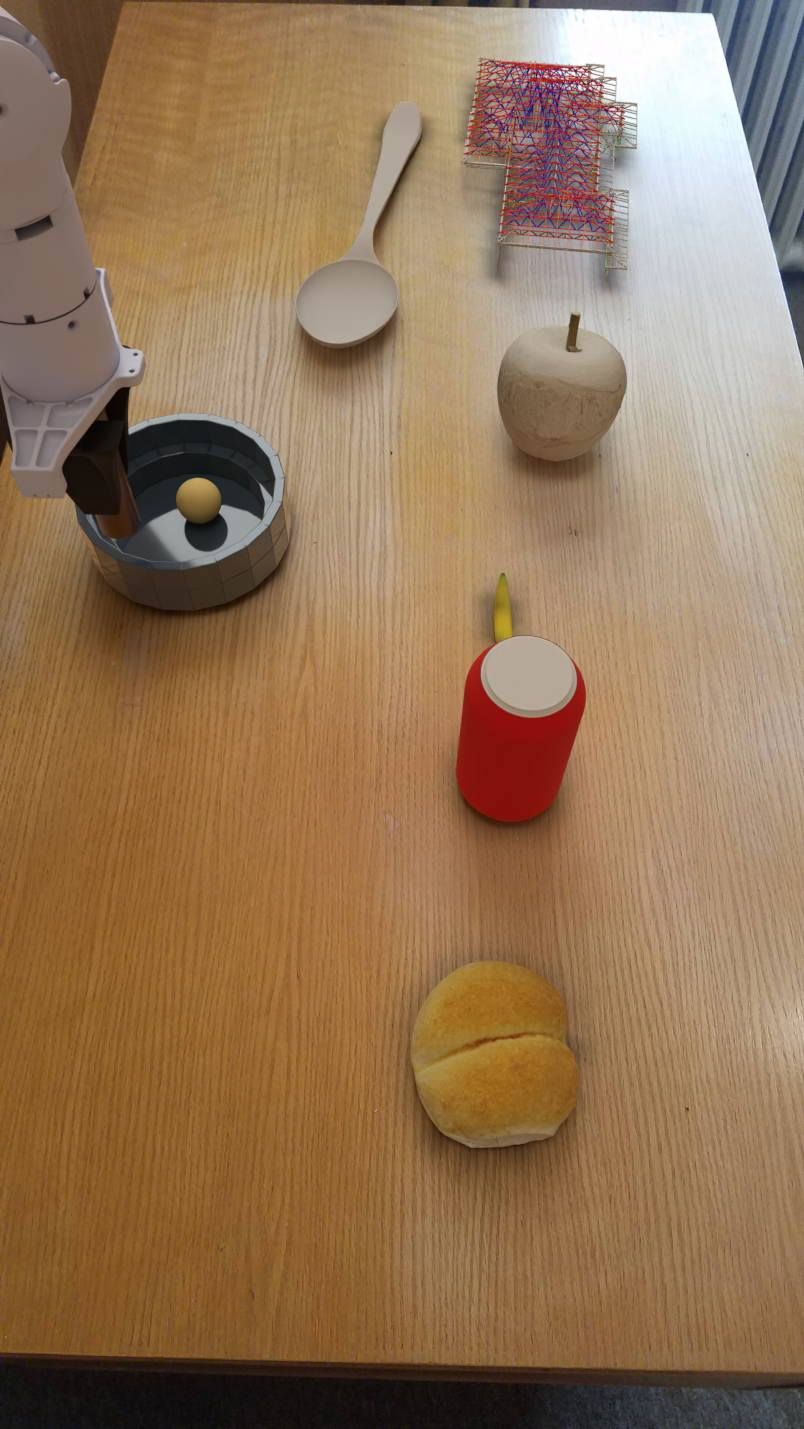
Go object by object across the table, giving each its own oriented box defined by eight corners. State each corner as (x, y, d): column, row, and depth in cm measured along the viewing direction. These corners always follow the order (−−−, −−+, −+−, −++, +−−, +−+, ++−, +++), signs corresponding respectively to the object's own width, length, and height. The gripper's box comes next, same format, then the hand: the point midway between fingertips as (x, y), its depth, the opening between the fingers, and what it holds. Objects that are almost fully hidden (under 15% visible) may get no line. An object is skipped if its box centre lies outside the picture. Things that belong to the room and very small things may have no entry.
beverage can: (524, 721, 63) (549, 604, 52) (578, 802, 60) (616, 696, 49) (436, 761, 61) (444, 649, 51) (487, 846, 58) (507, 747, 48)
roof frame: (630, 294, 83) (643, 236, 78) (445, 278, 84) (448, 220, 79) (634, 91, 98) (645, 33, 93) (477, 80, 99) (481, 21, 94)
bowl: (77, 615, 66) (55, 567, 62) (112, 463, 73) (95, 410, 69) (282, 620, 66) (274, 572, 62) (298, 467, 73) (292, 415, 69)
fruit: (492, 586, 68) (496, 557, 65) (509, 586, 68) (514, 558, 65) (494, 675, 64) (498, 648, 62) (512, 675, 64) (517, 648, 62)
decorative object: (513, 496, 72) (529, 385, 63) (476, 410, 76) (486, 295, 67) (630, 471, 73) (661, 359, 64) (587, 388, 77) (610, 273, 69)
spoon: (381, 376, 77) (382, 348, 75) (280, 362, 78) (278, 333, 76) (449, 134, 96) (451, 105, 94) (366, 124, 97) (366, 95, 94)
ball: (165, 511, 67) (184, 469, 66) (172, 510, 70) (190, 470, 69) (207, 532, 67) (226, 490, 67) (212, 530, 70) (230, 490, 70)
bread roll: (551, 961, 55) (562, 937, 52) (586, 1137, 51) (600, 1125, 47) (400, 978, 54) (400, 956, 51) (421, 1158, 50) (423, 1147, 47)
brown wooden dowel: (97, 539, 60) (52, 424, 52) (103, 508, 61) (61, 391, 53) (137, 539, 60) (99, 425, 52) (143, 509, 61) (107, 392, 53)
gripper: (93, 397, 43) (158, 593, 54) (144, 189, 50) (192, 402, 62) (-75, 394, 43) (26, 591, 54) (1, 186, 50) (76, 399, 62)
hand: (106, 490), depth 58 cm, fingers closed on brown wooden dowel, 2 cm apart
